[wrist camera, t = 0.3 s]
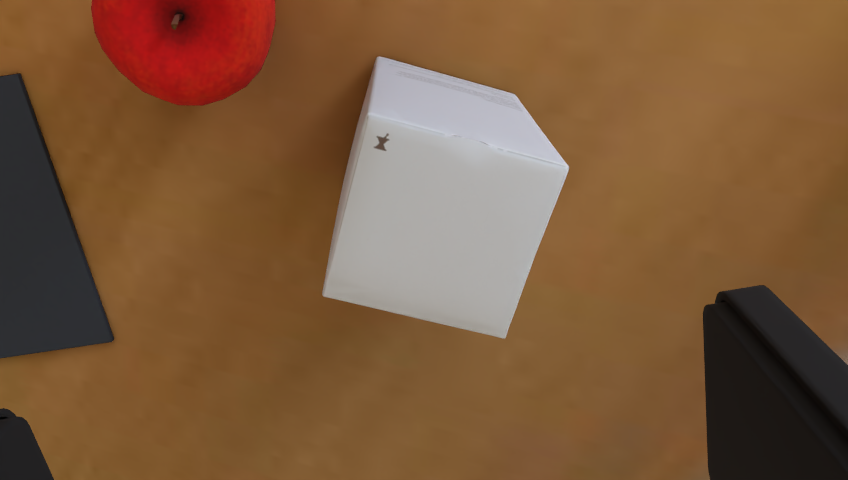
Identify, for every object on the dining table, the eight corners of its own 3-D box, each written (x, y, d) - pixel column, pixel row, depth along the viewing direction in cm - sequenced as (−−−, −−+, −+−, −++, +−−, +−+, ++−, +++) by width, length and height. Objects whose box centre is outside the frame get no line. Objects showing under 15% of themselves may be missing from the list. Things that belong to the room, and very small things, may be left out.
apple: (104, -47, 41) (40, -44, 34) (250, -104, 40) (217, -114, 33) (176, 104, 45) (132, 136, 37) (313, 54, 44) (295, 78, 36)
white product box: (339, 192, 47) (312, 300, 33) (375, 52, 44) (362, 106, 30) (477, 228, 48) (506, 346, 34) (522, 94, 45) (574, 164, 31)
